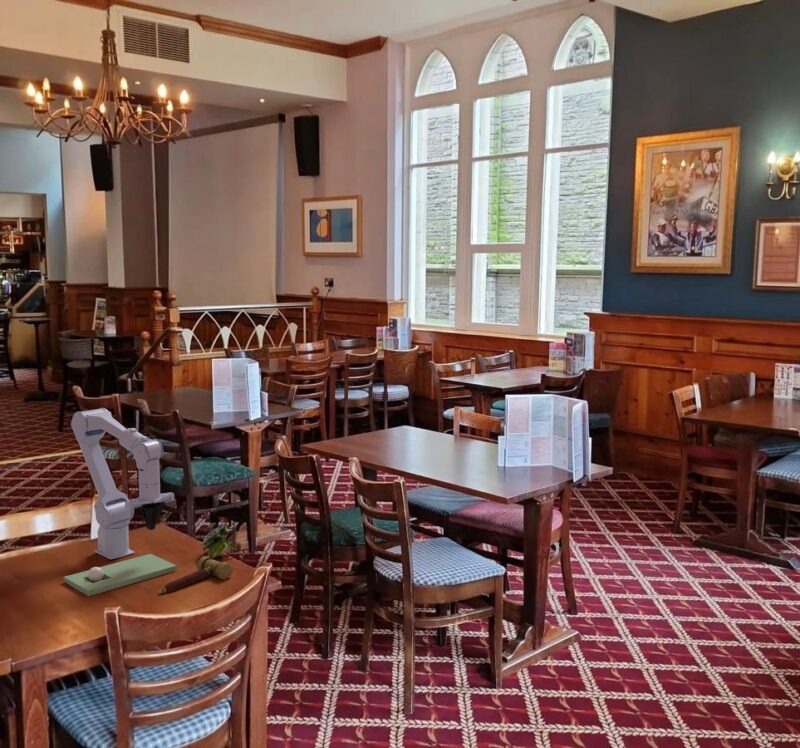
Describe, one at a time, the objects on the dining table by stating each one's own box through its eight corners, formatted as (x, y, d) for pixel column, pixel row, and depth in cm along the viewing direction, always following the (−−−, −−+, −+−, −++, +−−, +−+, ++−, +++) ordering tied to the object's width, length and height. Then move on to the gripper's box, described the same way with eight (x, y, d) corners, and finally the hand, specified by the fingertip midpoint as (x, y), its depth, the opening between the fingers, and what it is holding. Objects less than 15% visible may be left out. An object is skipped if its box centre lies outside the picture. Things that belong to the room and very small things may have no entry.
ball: (97, 582, 225) (84, 582, 222) (98, 567, 226) (85, 567, 223) (106, 581, 223) (93, 582, 220) (107, 566, 224) (93, 566, 221)
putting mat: (64, 582, 223) (63, 576, 223) (150, 558, 242) (150, 553, 242) (88, 596, 214) (88, 590, 213) (176, 570, 232) (176, 565, 232)
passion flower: (211, 568, 249) (215, 530, 255) (244, 565, 247) (247, 526, 252) (192, 558, 240) (197, 519, 246) (226, 555, 237) (230, 515, 243)
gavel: (170, 588, 212) (146, 579, 218) (171, 605, 213) (148, 596, 219) (232, 561, 228) (209, 553, 234) (233, 577, 229) (210, 569, 235)
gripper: (133, 489, 227) (134, 537, 228) (179, 480, 237) (180, 526, 239) (120, 485, 232) (122, 532, 233) (166, 476, 242) (167, 521, 244)
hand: (150, 528), depth 236 cm, fingers closed
